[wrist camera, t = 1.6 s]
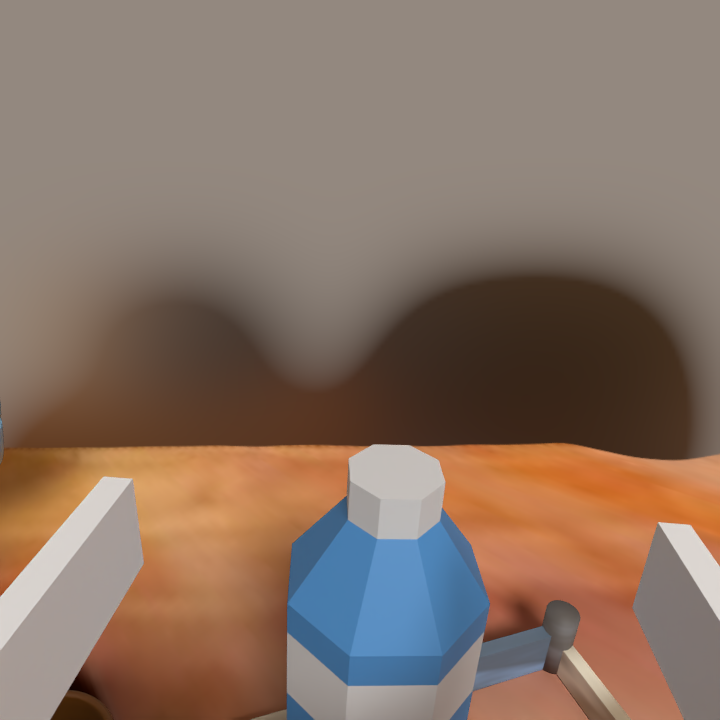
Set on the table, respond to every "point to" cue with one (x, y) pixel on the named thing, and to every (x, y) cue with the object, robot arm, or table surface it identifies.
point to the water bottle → (384, 600)
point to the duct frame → (541, 663)
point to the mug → (81, 708)
